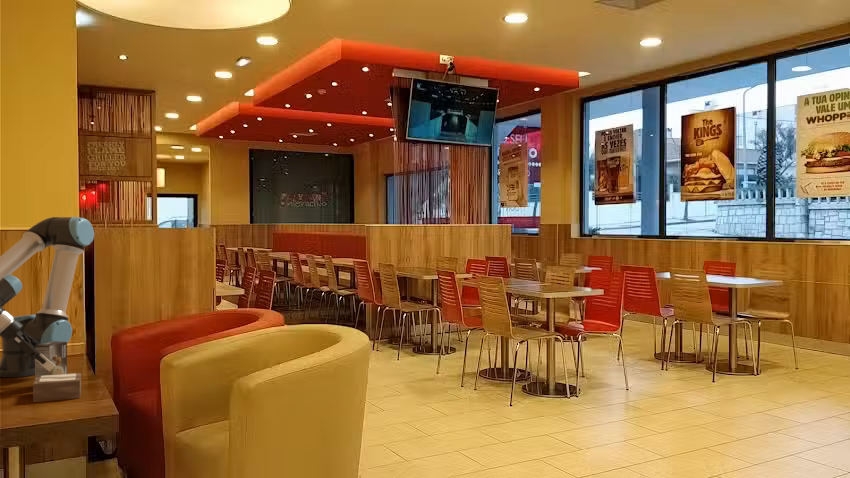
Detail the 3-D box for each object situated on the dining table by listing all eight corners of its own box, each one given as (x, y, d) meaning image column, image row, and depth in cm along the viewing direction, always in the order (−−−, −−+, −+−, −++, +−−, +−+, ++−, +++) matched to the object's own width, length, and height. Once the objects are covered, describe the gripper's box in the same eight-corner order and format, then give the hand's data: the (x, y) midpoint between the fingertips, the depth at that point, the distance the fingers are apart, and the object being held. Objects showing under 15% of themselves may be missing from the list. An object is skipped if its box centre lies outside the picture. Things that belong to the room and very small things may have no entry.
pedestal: (36, 393, 243) (36, 375, 243) (81, 389, 249) (81, 372, 249) (33, 402, 230) (33, 383, 230) (79, 398, 236) (79, 379, 236)
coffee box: (52, 383, 258) (52, 340, 258) (67, 384, 257) (67, 341, 257) (34, 389, 249) (34, 344, 249) (49, 390, 248) (49, 345, 248)
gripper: (2, 329, 257) (48, 366, 263) (-8, 339, 234) (42, 379, 240) (19, 314, 259) (64, 351, 265) (10, 322, 236) (59, 363, 242)
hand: (54, 365), depth 253 cm, fingers open, 13 cm apart
